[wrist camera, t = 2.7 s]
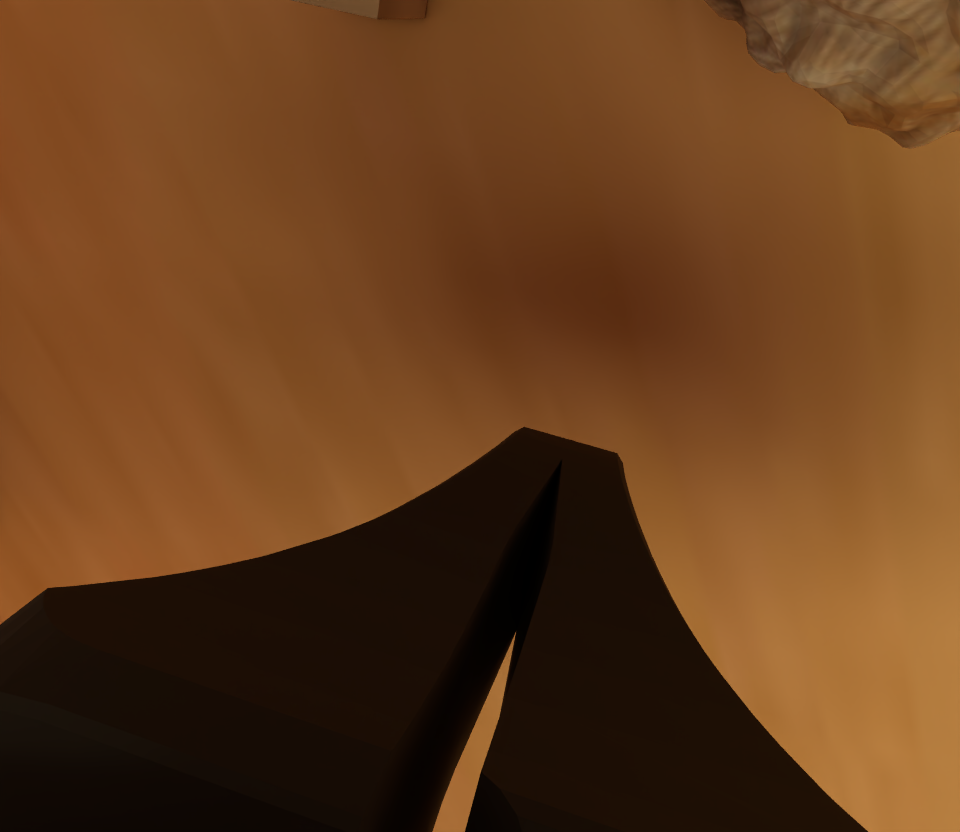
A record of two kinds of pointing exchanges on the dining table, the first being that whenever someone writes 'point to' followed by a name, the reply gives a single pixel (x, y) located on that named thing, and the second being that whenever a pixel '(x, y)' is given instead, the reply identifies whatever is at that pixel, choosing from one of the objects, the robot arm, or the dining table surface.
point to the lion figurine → (864, 58)
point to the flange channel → (375, 7)
